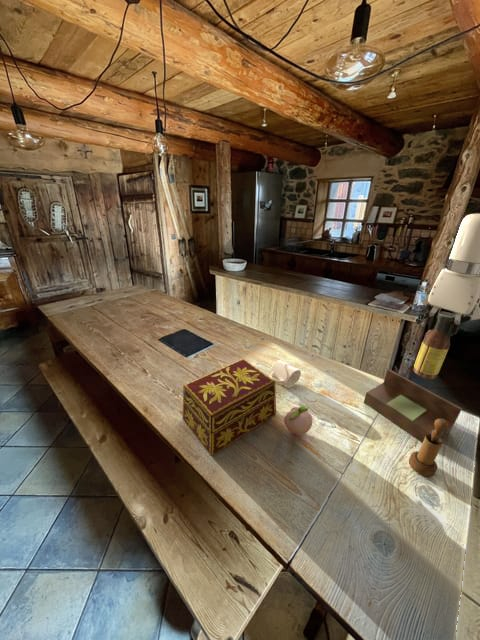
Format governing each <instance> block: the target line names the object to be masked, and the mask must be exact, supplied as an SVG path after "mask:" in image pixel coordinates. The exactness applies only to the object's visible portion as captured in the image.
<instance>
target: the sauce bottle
mask: <svg viewBox="0 0 480 640" xmlns="http://www.w3.org/2000/svg"><path fill="white" fill-rule="evenodd" d="M454 320H455V313H453V312H452V313H451V312H449V311H439V312H438V314H437V319H436V322H435V324H434V327H433V328H432V329H431V330H429V329H428V330H427V332H425V335H424V338H423V340H422V342H421V345H420V348H419V351H418V354H417V356H416V359H415V362H414V364H413V370H412V371H413V372H414V373H415V374H416V375H417V376H418V377H420V378H423V379H425V380H434V379H436V378H437V376H438V375H439V373H440V371H441V368H442V367H443V363H444V361H445V359H446V356H447V353H448V351H449V349H450V347H451V336H450V337H448V336H447V332H448V330H449V327H450V325H451V323H453V322H454Z"/></svg>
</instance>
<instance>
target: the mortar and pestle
mask: <svg viewBox="0 0 480 640" xmlns="http://www.w3.org/2000/svg"><path fill="white" fill-rule="evenodd" d="M434 425H435V430H433V431H432V434H427V435H426V436H425V439H424V441H423V443H422V442H421V446H420V448H419V449H418V450H417V451H413V452H412V453H411V454H410V456H409V457H408V463H409V466H410V468H412V470H413V471H414V472H415V473H416V474H418V475H420V476H422V477H424V478H432V477H434V476H435V475H436V472H437V471H438V464H437V461H436V458H437V456H438V454H439V453H440V450H441V448H442V446H443V444H444V442H443V440H441V439H440V438H441V437H442V434H441V433H442V432H444V431H446V430H447V429H448V427H449V425H448V423H447V422H446V421H445V420H443V419H437V420H436V421H435V422H434Z"/></svg>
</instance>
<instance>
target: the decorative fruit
mask: <svg viewBox="0 0 480 640" xmlns="http://www.w3.org/2000/svg"><path fill="white" fill-rule="evenodd" d="M283 419H284V420H283V421H284V425H285V428H286V429H287V430H288V431H289V432H290V433H291V434H293V435H305V434H307V433H308V432H309V431H310V430H311V428H312V426H313V416H312V414H311V412H310V411H309V407H308V406H307V405H295V406H293V407H292V408H290V411H288V412H287V413H286V414H285V416H284V418H283Z"/></svg>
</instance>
